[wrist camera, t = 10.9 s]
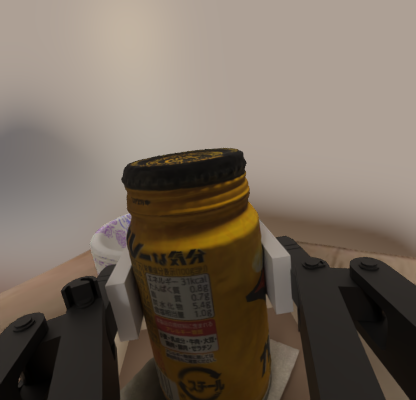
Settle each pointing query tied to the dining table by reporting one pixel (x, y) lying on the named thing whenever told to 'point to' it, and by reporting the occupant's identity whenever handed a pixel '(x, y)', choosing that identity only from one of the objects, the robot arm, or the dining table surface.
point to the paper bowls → (110, 242)
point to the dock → (278, 331)
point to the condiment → (201, 281)
